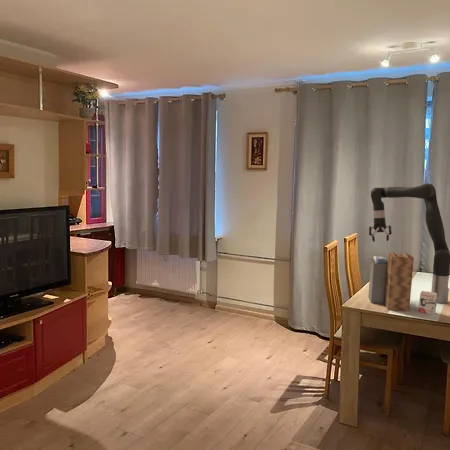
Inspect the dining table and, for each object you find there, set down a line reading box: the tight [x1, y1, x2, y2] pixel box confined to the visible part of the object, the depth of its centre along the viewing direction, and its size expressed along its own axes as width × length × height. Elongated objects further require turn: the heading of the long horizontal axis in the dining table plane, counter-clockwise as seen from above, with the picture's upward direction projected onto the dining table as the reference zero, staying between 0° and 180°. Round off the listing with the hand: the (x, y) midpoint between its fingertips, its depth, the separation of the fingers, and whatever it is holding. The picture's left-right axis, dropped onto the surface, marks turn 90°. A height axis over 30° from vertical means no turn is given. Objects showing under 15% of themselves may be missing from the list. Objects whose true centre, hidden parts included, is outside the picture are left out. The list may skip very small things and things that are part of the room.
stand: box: [384, 251, 414, 312], centre depth 277 cm, size 12×11×33 cm
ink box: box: [418, 290, 437, 316], centre depth 272 cm, size 8×5×12 cm, turn 56°
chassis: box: [367, 258, 388, 305], centre depth 293 cm, size 10×15×25 cm, turn 170°
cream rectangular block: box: [373, 255, 387, 264], centre depth 297 cm, size 5×22×6 cm, turn 170°
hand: (380, 241), depth 314 cm, fingers open, 8 cm apart
